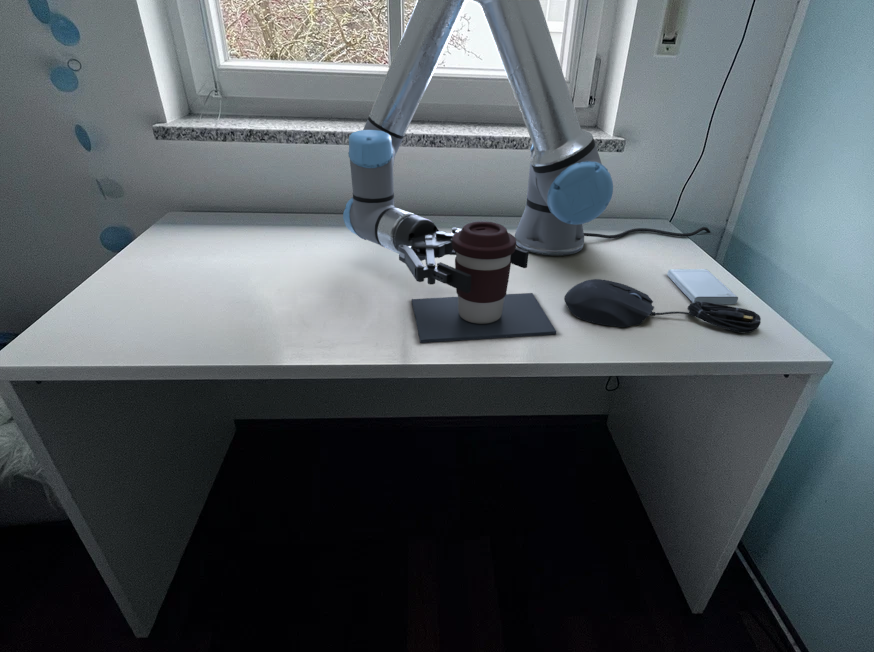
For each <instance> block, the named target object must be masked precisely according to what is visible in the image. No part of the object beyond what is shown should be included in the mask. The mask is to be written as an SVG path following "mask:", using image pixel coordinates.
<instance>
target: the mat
mask: <svg viewBox="0 0 874 652" xmlns="http://www.w3.org/2000/svg"><path fill="white" fill-rule="evenodd" d="M411 305H412V310H413V315H414V320H415V325H416V330H417V334H418V339H419V343H420V344H428V343H429V344H430V343H443V342H444V343H445V342H459V341H474V340H490V339H491V340H492V339H506V338H521V337H523V338H524V337H539V336H552V335H553V336H554V335H557V330H556V328H555V327H554V324H553V323H552V322H551V320H550V319H549V317H548V316H547V314H546V312H545V311H544V309H543V307H542V306H541V304H540V302H539V301H538V299H537V298H536V296H535V295H534V293H533V292H526V293H525V292H524V293H523V292H522V293H506V295H505V297H504V303H503V309H502V315H501V317H500V318H499V319H498V320H497V321H495V322H492V323H488V324H476V323H471V322H468V321H466V320H464V319H463V318H461V316H460V315H459V311H458V296H445V297H428V298H427V297H426V298H425V297H424V298H423V297H422V298H412V299H411Z"/></svg>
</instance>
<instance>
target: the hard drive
mask: <svg viewBox="0 0 874 652" xmlns="http://www.w3.org/2000/svg"><path fill="white" fill-rule="evenodd" d="M666 275H667V277H668V278H669V279H670V280H671V281H672V282H673V284H675V285H676V287H677V288H678V289H680V291H681V292H682V293H683V294H684V295H685V296H686V297H687V298H688V299H689V300H690V301H691V303H695V302H696V301H699V302H710V303H714V304H720V305H736V304H737V303H738V301H739V296H738V295H736V294H735V293H734V292H733V291H732V290H731V289H729V287H727V286H726V285H725V284H724V283H723V282H722V281H721V280H720V279H719V278H717V276H716V275H714V274H713V273H712V272H711V271H710V270H708V269H707V268H672V269H668V271H667V274H666Z"/></svg>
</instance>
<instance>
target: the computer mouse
mask: <svg viewBox="0 0 874 652" xmlns="http://www.w3.org/2000/svg"><path fill="white" fill-rule="evenodd" d="M563 299H564V303H565V305H566V308H567V309H568V311H569V312H570V313H571V314H572V315H573V316H574V317H576V318H578V319H580V320H582V321H585V322H588V323H592V324H596V325H603V326H610V327H617V328H628V327H631V326H638V325H639V326H640V325H642V323H643V322H644V321H646V319H648V318H649V317H650V316H651V317H655V316H664V315H677V314H678V315H688V316H692V317H693V318H696V319H700V320H701V321H702V322H705V323H708V324H710V325H713V326H715V327H718V328H720V329H725V330H728V331H732V332H735V333H739V334H748V333H752V332H755V331H756V330H757V329H758V328H759V327H760V325H761V316H760V315H759V314H758V313H757V312H755V311H753V310H750V309H746V308H742V307H735V306H730V305H727V304H714V303H710V302H699V301H696V302H695V303H693V302H691V303H689V305H687V311H688V312H687V311H664V312H663V311H662V312H656V311H654V308H655V306H654V305H653V303H654V301H653V300H652V298H651V297H650V295H649V294H647V293H645V292H643V291H641V290H638V289H637V288H634V287H632V286H629V285H626V284H624V283H621V282H617V281H612V280H607V279H601V278H592V279H587V280H584V281H581V282H579V283H577V284H575V285H574V286H572V287H571V288H570V289H569V290H568V291H567V292H566V293H565V294H564V297H563Z"/></svg>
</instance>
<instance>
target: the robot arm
mask: <svg viewBox="0 0 874 652" xmlns="http://www.w3.org/2000/svg"><path fill="white" fill-rule="evenodd" d="M469 1H470V2H472V3H474V4H476V5H478V6H479V7H480V8H481V11H482V13H483V16H484V19H485V21H486V25H487V27H488V29H489V33H490V34H491V37H492V40H493V42H494V46H495V48H496V51H497V54H498V56H499V59H500V61H501V64H502V67H503V70H504V72H505V75H506V77H507V79H508V82H509V85H510V88H511V90H512V93H513V95H514V99H515V101H516V104H517V106H518V108H519V111H520V114H521V117H522V119H523V122H524V124H525V125H524V126H525V127H526V130H527V132H528V136H529V138H530V140H531V147H530V149H529V151H530V160H529V169H528V170H529V171H528V181H527V190H526V191H527V193H526V202H525V208H524V211H523V213H522V215H521V217H520V220H519V223H518V224H517V226H516V229H515V233H514V237H515V239H516V249H515V251H514V253H513V254H511V257H510V260H511V265H513V266H514V265H515V266H517V267H520V268H522V269H526V268H527V267H528V263H529V253H532V254H537V255H542V256H551V257H557V256H558V257H560V256H568V255H573V254H576V253H579V252H581V251H582V249H583V248H584V244H585V237H591V238H592V237H593V238H601V239H602V238H603V239H617V238H621V237H624V236H626V235H628V234H631V233H636V232H649V233H655V234H656V233H657V234H662V235H666V236H673V237H692V236H695V235H698V234H699V233H700V232H703V231H705V232H706V233H708V234H711V233H712V232H711V230H710V229H709V228H708V227H706V226H702V227H699V228H698V229H696V230H694V231H692V232H686V233H682V232H681V233H680V232H673V231H667V230H663V229H656V228H650V227H649V228H647V227H637V228H631V229H628V230H625V231H623V232H621V233H616V234H602V233H593V232H584V228H583V224H587V223H590V222H591V221H593V220H595V219H597V218H598V217H599V216H600V215H602V214H603V213H604V212H605V210H606V209H607V208H608V205H609V204H610V202H611V200H612V197H613V193H614V183H613V178H612V175H611V173H610V172H609V169H608V168H607V167H606V166H605V165H604V164H603V163H602V160H601V157H600V154H599V151H598V148H597V145H596V142H595V139H594V136H593V133H592V132H591V131H587V130H585V129H583V128H582V127H581V125H580V121H579V118H578V116H577V112H576V110H575V107H574V103H573V100H572V97H571V94H570V90H569V87H568V84H567V81H566V78H565V75H564V72H563V69H562V66H561V63H560V60H559V56H558V54H557V51H556V48H555V44H554V41H553V39H552V35H551V32H550V28H549V27H548V23H547V20H546V17H545V14H544V11H543V8H542V5H541V1H540V0H417V1H416V3H415V6H414V8H413V10H412V13H411V15H410V17H409V20H408V22H407V25H406V27H405V29H404V32H403V33H402V37H401V38H400V41H399V44H398V46H397V48H396V51H395V53H394V55H393V58H392V60H391V63H390V65H389V67H388V70H387V72H386V74H385V77H384V79H383V81H382V83H381V86H380V89H379V91H378V93H377V96H376V98H375V101H374V102H373V105H372V108H371V110H370V113H369V115H368V118H367V119H366V122H365V124H364V126H363V129H361V130H356V131H354V132H351V133H350V134H349V136H348V153H347V154H348V158H349V167H350V177H351V187H352V197H351V198H350V199H349V200H348V201H347V202H346V204H345V208H344V211H343V215H342V218H343V223H344V225H345V227H346V229H348V231H349V232H351V233H353V234H354V235H356V236H357V237H359V238H360V239H362V240H364V241H368V242H372V243H374V244H376V245H379V246H381V247H383V248H385V249H388V250H390V251H392V252H394V253H397V254H398V260H399V261H400V262H401V263H402V264H405V265H406V267H407V269H408V270H409V272H410V274H411V275H412V277H413V278H414V280H415V281H416V282H418V283H423V282H424V281H425V279H427V284H428V285H436V281H438V282H440V283H441V284H445V285H447V286H450V287H452V288H455V290H456V289H459V290H461V291H463V292H465V293H469V292H471V275H469V274H467V273H465V272H462V271H460V270H458V269H455V267H453V266H451V265H448V264H446V263H443V262H442V261H441V262H437V263H436V259H440V258H443V257H445V256H449V255H450V256H456V252H455V251H454V250H453V248H452V237H453V235H454V234H455V233H456V232H458V231H461V230H462V228H459V227H452V228H451V233H449V232H446V231H441V230H439V229H438V228H437V225H436V224H435V222H433V221H432V220H431V219H428V218H425V217H423V216H420V215H418V214H415V213H413V212H410V211H407V210H404V209H401V208H398V207H396V206H395V192H394V189H395V188H394V185H395V184H394V165H395V158H396V156H397V153H398V151H399V149H400V148H401V147H400V146H401V145H402V142H403V140H404V137H405V135H406V133H407V130H408V128H409V126H410V124H411V122H412V120H413V118H414V116H415V113H416V111H417V110H418V107H419V105H420V103H421V101H422V99H423V96H424V95H425V92H426V90H427V88H428V86H429V83H430V82H431V79H432V77H433V75H434V73H435V71H436V68H437V66H438V64H439V62H440V60H441V58H442V57H443V54H444V51H445V49H446V47H447V45H448V43H449V41H450V38H451V36H452V35H453V32H454V30H455V28H456V26H457V23H458V22H459V20H460V17H461V15H462V12H463V11H464V8H465V6H466V4H467V3H468V2H469ZM423 261H425V265H426V266H425V265H424V263H423Z"/></svg>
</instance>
